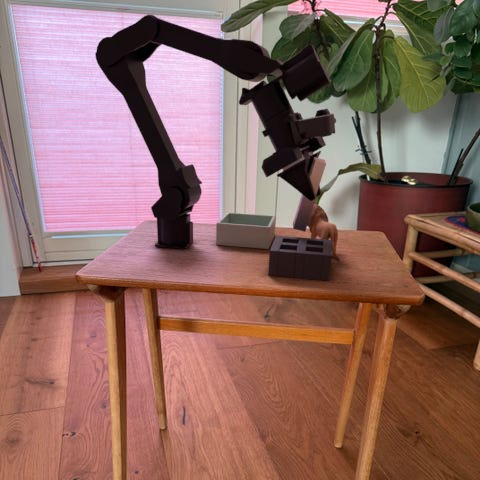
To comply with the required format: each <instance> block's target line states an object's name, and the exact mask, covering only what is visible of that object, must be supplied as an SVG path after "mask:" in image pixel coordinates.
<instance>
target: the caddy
mask: <svg viewBox="0 0 480 480" xmlns="http://www.w3.org/2000/svg"><path fill="white" fill-rule="evenodd" d="M332 259H333V257H332V240H331V239H328V240H326V239H321V238H316V239H313V238H311V237H301V236H299V237H298V236H287V235H275V237H274V239H273V241H272V244H271V246H270V248H269V259H268V273H267V275H268V276H272V277H283V278H284V277H285V278H293V279H303V280H315V281H326V282H328V281H330V276H331V268H332Z"/></svg>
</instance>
